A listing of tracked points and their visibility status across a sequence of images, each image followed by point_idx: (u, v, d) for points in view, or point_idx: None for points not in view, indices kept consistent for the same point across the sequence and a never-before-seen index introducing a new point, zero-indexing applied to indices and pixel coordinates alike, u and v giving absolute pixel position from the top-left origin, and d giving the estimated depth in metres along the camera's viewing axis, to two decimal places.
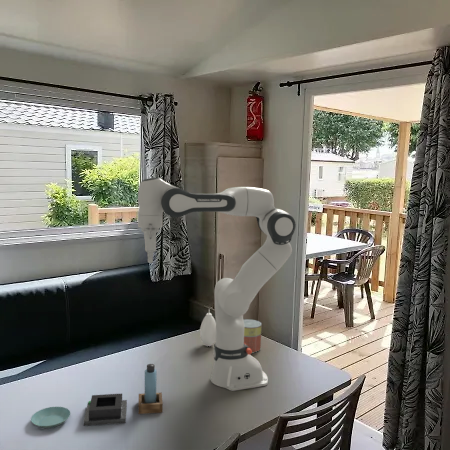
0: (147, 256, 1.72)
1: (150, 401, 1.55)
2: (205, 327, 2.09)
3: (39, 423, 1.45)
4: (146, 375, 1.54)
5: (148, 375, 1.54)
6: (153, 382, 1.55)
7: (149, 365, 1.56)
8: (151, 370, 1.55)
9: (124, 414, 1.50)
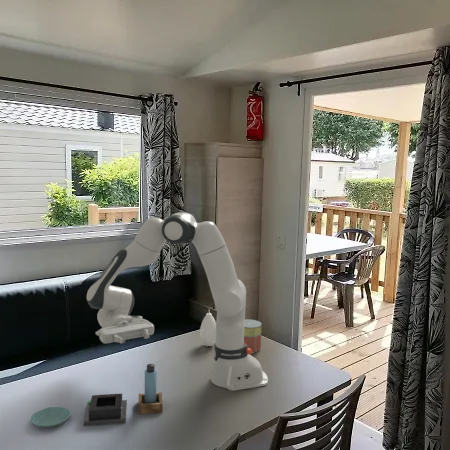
0: (146, 338, 1.68)
1: (150, 401, 1.55)
2: (205, 327, 2.09)
3: (39, 423, 1.45)
4: (146, 375, 1.54)
5: (148, 375, 1.54)
6: (153, 382, 1.55)
7: (149, 365, 1.56)
8: (151, 370, 1.55)
9: (124, 414, 1.50)
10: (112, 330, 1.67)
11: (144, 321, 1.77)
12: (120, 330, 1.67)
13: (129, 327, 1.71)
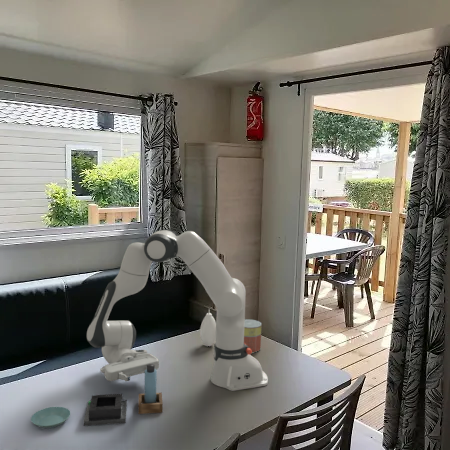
0: None
1: (150, 401, 1.55)
2: (205, 327, 2.09)
3: (39, 423, 1.45)
4: (146, 375, 1.54)
5: (148, 375, 1.54)
6: (153, 382, 1.55)
7: (149, 365, 1.56)
8: (151, 370, 1.55)
9: (124, 414, 1.50)
10: (117, 367, 1.66)
11: (149, 355, 1.75)
12: (125, 367, 1.66)
13: (134, 363, 1.69)
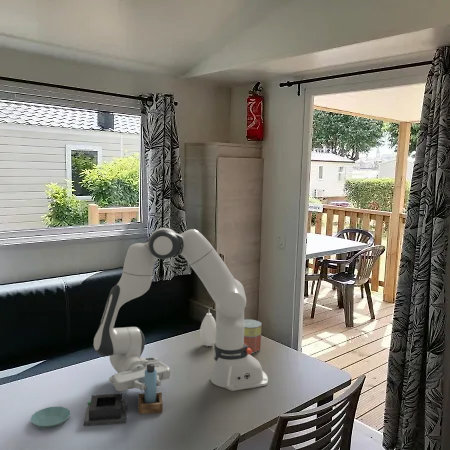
0: None
1: (150, 401, 1.55)
2: (205, 327, 2.09)
3: (39, 423, 1.45)
4: (146, 375, 1.54)
5: (148, 375, 1.54)
6: (153, 382, 1.55)
7: (149, 365, 1.56)
8: (151, 370, 1.55)
9: (124, 414, 1.50)
10: (127, 376, 1.58)
11: (159, 364, 1.68)
12: (135, 376, 1.59)
13: (144, 372, 1.62)
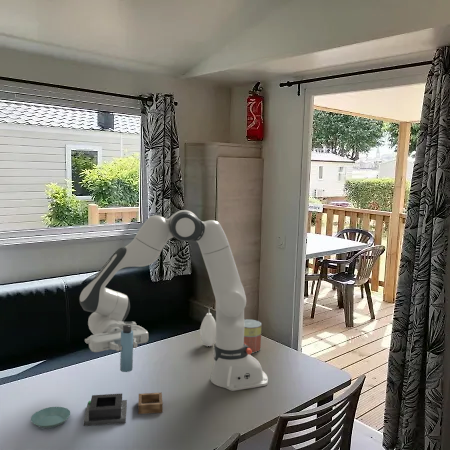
0: None
1: (126, 363, 1.51)
2: (205, 327, 2.09)
3: (39, 423, 1.45)
4: (122, 336, 1.50)
5: (124, 335, 1.50)
6: (129, 343, 1.50)
7: (126, 326, 1.51)
8: (127, 331, 1.50)
9: (124, 414, 1.50)
10: (102, 337, 1.54)
11: (138, 327, 1.63)
12: (111, 337, 1.54)
13: None
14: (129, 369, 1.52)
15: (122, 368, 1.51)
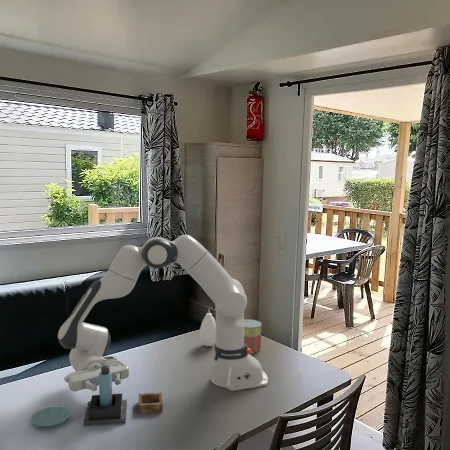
0: (117, 384, 1.53)
1: (105, 404, 1.50)
2: (205, 327, 2.09)
3: (39, 423, 1.45)
4: (100, 377, 1.49)
5: (102, 377, 1.48)
6: (108, 385, 1.49)
7: (103, 367, 1.50)
8: (105, 372, 1.49)
9: (124, 414, 1.50)
10: (82, 376, 1.52)
11: (118, 363, 1.62)
12: (90, 375, 1.53)
13: None
14: None
15: None
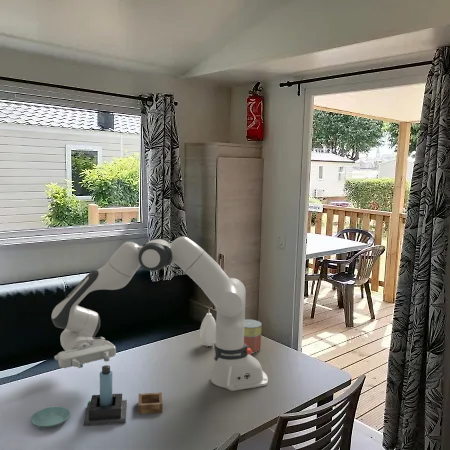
0: None
1: (105, 404, 1.50)
2: (205, 327, 2.09)
3: (39, 423, 1.45)
4: (101, 377, 1.49)
5: (103, 377, 1.48)
6: (108, 385, 1.49)
7: (104, 367, 1.50)
8: (106, 372, 1.49)
9: (124, 414, 1.50)
10: (71, 354, 1.63)
11: (106, 342, 1.72)
12: (79, 353, 1.63)
13: (89, 350, 1.66)
14: None
15: None
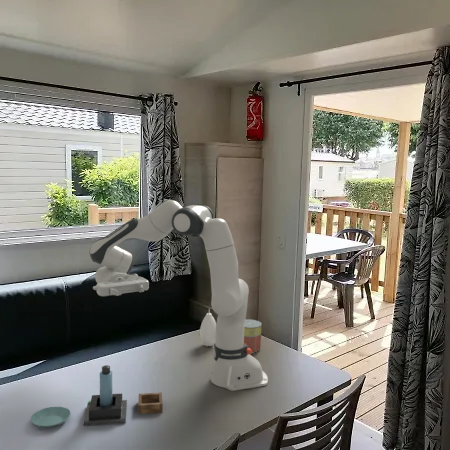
0: None
1: (105, 404, 1.50)
2: (205, 327, 2.09)
3: (39, 423, 1.45)
4: (101, 377, 1.49)
5: (103, 377, 1.48)
6: (108, 385, 1.49)
7: (104, 367, 1.50)
8: (106, 372, 1.49)
9: (124, 414, 1.50)
10: (108, 284, 1.75)
11: (139, 278, 1.85)
12: (116, 284, 1.75)
13: (125, 282, 1.79)
14: None
15: None
